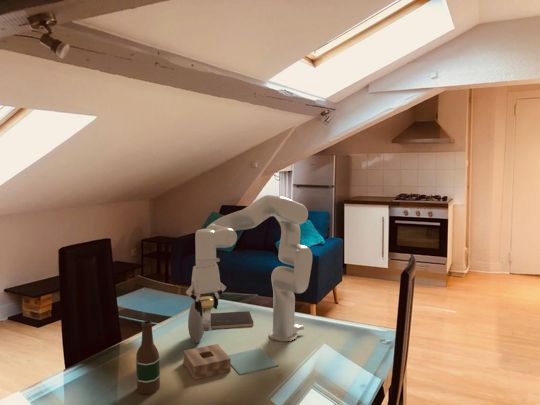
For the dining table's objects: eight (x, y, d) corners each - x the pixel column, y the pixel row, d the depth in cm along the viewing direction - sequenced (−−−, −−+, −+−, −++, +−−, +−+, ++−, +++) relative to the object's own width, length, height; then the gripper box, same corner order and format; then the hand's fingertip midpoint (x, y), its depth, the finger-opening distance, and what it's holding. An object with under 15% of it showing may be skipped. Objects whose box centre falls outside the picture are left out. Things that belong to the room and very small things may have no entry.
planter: (202, 350, 180) (202, 306, 178) (185, 350, 180) (184, 306, 178) (208, 332, 198) (208, 292, 196) (192, 332, 198) (192, 292, 196)
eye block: (217, 355, 175) (217, 343, 175) (230, 371, 163) (230, 358, 162) (183, 363, 169) (183, 350, 169) (194, 379, 157) (194, 366, 156)
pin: (211, 325, 169) (211, 295, 167) (217, 331, 163) (216, 300, 162) (196, 328, 166) (196, 297, 164) (201, 334, 160) (201, 302, 159)
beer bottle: (139, 383, 154) (137, 318, 151) (161, 382, 155) (160, 317, 152) (134, 395, 146) (132, 327, 143) (158, 394, 147) (156, 326, 144)
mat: (260, 349, 182) (260, 348, 182) (278, 365, 168) (278, 364, 168) (224, 356, 175) (224, 355, 175) (239, 375, 160) (239, 374, 160)
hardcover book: (253, 327, 206) (253, 322, 205) (204, 330, 201) (204, 325, 201) (249, 315, 221) (249, 310, 221) (203, 317, 217) (203, 313, 217)
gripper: (224, 257, 169) (224, 302, 171) (180, 262, 161) (181, 309, 163) (231, 262, 162) (231, 309, 164) (186, 267, 154) (186, 316, 156)
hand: (206, 308), depth 164 cm, fingers closed on pin, 6 cm apart
